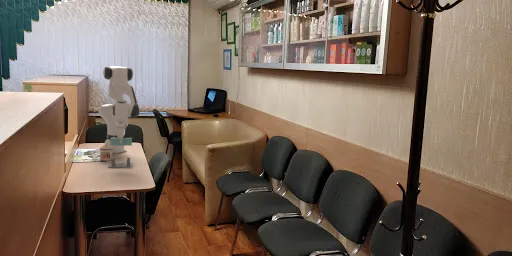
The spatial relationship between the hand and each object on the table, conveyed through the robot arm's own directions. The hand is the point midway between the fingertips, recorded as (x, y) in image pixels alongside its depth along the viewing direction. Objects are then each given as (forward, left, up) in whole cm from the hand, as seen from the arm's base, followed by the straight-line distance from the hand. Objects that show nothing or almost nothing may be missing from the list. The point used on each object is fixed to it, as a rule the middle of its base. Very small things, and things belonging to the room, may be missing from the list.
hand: (121, 142), depth 291 cm
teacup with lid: (-21, -11, -17) cm, 29 cm away
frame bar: (0, 0, -2) cm, 2 cm away
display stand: (0, 0, -17) cm, 17 cm away
